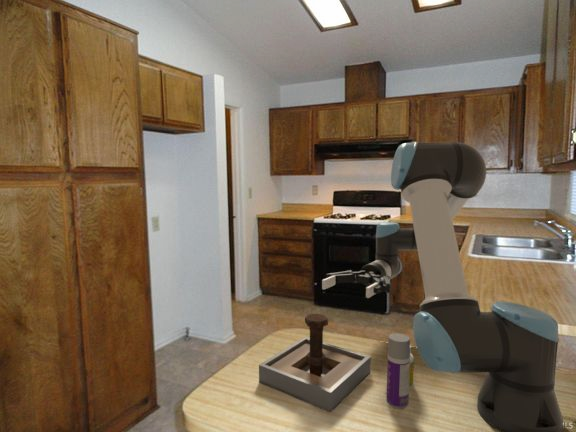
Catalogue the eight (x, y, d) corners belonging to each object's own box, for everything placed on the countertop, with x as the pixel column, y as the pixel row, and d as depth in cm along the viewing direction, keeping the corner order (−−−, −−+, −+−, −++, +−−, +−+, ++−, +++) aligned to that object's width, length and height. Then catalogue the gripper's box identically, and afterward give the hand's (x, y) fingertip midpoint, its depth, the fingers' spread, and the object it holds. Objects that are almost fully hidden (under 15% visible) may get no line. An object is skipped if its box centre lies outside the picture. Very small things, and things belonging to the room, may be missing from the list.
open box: (370, 373, 96) (370, 356, 96) (330, 412, 81) (330, 392, 80) (305, 352, 108) (305, 336, 108) (259, 382, 92) (258, 364, 92)
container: (381, 399, 85) (383, 335, 84) (397, 394, 87) (399, 331, 86) (396, 411, 81) (398, 343, 79) (412, 405, 83) (415, 339, 82)
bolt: (301, 378, 93) (302, 319, 91) (307, 368, 98) (307, 312, 96) (325, 382, 91) (325, 322, 89) (329, 372, 96) (330, 315, 94)
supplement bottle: (414, 391, 89) (415, 351, 88) (390, 388, 90) (391, 349, 89) (411, 379, 94) (412, 341, 93) (389, 376, 95) (390, 339, 94)
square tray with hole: (364, 371, 96) (364, 360, 96) (328, 405, 82) (328, 392, 82) (306, 352, 107) (306, 342, 106) (266, 379, 93) (265, 367, 92)
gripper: (413, 291, 115) (387, 310, 98) (340, 279, 130) (306, 294, 113) (414, 267, 115) (388, 282, 98) (340, 257, 129) (306, 269, 112)
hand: (344, 288), depth 105 cm, fingers open, 13 cm apart
